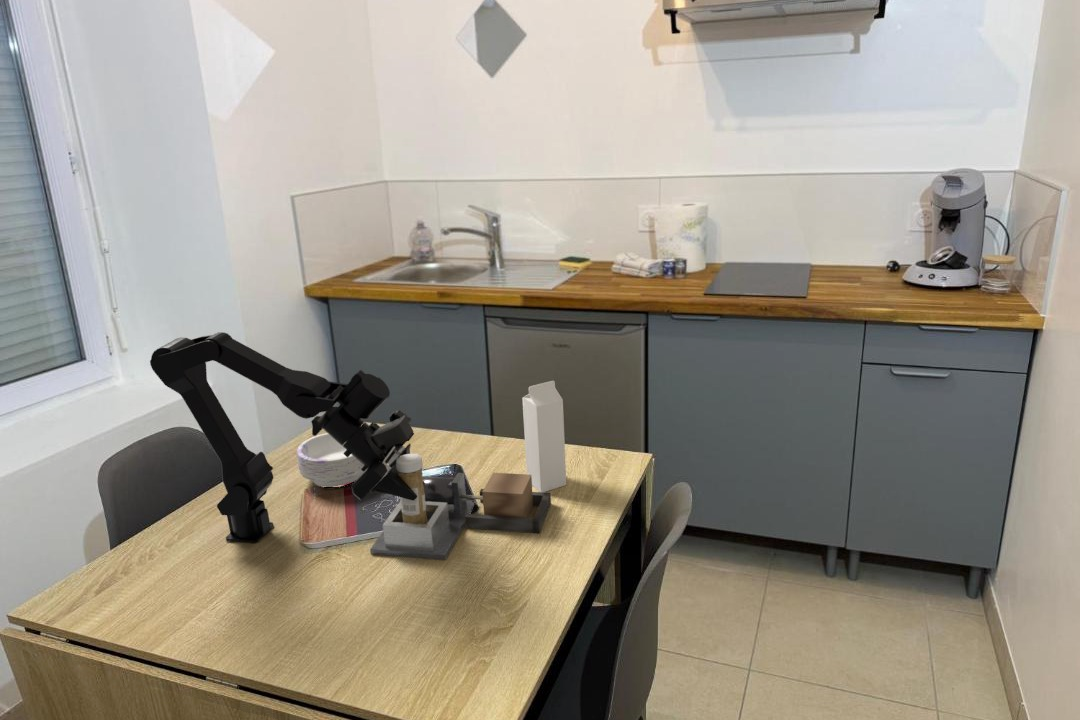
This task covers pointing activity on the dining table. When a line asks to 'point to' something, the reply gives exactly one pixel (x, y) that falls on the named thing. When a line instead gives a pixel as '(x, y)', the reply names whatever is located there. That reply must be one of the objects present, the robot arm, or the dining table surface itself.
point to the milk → (544, 436)
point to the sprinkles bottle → (412, 476)
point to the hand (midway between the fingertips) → (419, 492)
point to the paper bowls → (327, 462)
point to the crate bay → (510, 505)
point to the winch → (429, 522)
